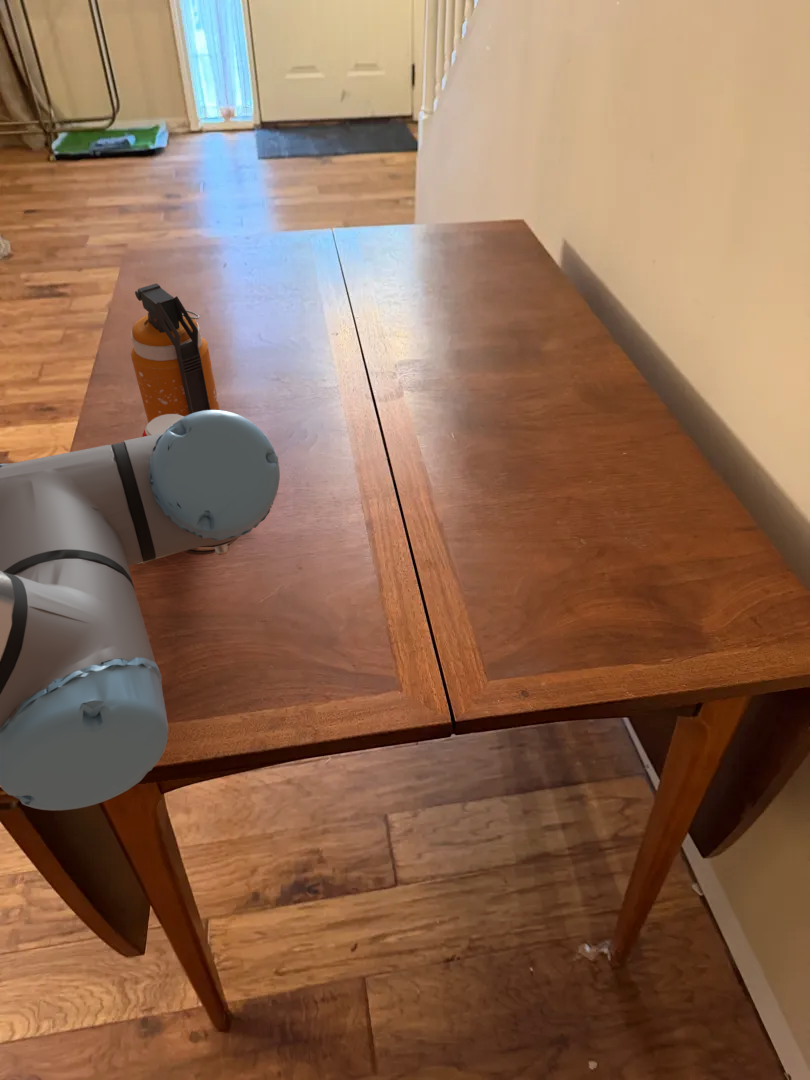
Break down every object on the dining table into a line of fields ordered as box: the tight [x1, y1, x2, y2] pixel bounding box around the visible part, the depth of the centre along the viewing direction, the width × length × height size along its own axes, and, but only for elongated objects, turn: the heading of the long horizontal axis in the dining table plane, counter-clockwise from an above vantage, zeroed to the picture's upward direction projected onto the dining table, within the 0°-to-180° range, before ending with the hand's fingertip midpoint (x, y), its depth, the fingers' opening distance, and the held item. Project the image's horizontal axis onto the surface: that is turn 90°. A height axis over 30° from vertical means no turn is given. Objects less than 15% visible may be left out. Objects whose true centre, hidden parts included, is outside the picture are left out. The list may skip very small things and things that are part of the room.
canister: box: [130, 283, 221, 424], centre depth 94 cm, size 9×11×20 cm
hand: (187, 532), depth 81 cm, fingers closed
